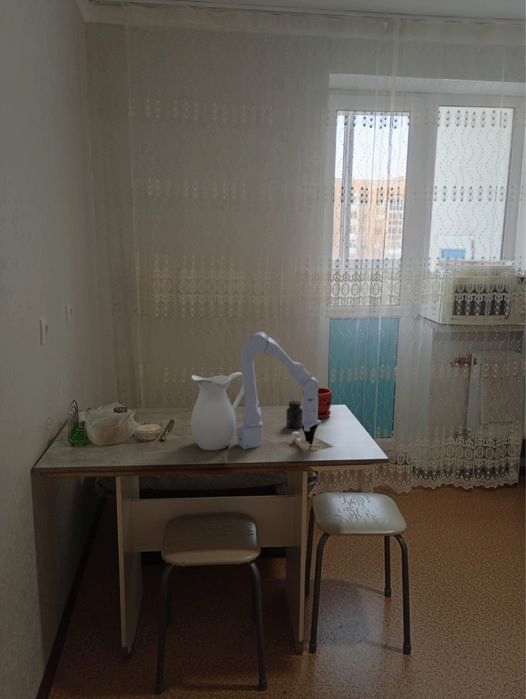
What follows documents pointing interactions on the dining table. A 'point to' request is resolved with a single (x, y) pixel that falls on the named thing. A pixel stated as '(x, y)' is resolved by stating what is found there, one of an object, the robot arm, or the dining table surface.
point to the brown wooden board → (314, 446)
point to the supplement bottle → (294, 415)
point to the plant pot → (324, 402)
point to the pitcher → (214, 412)
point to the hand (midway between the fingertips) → (309, 443)
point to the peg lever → (300, 441)
